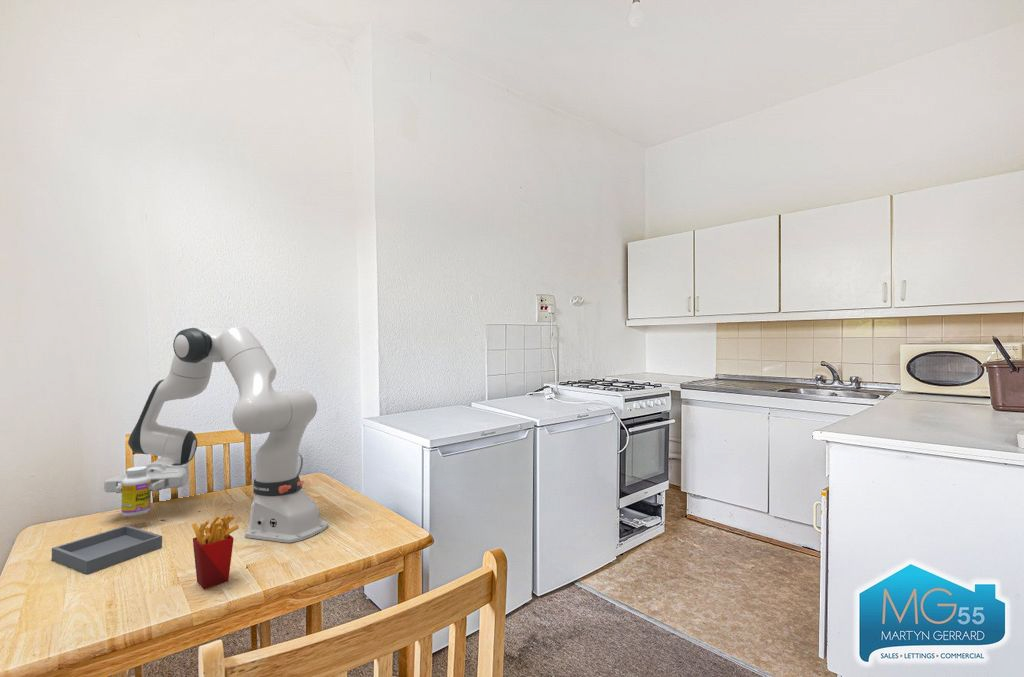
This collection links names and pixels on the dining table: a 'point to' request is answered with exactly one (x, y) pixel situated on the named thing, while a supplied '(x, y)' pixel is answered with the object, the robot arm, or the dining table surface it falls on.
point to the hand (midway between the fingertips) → (134, 489)
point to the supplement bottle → (136, 492)
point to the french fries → (213, 551)
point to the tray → (106, 549)
